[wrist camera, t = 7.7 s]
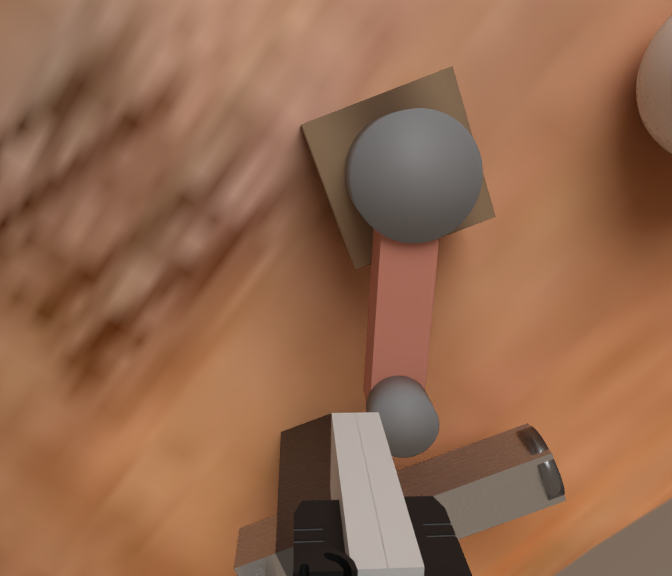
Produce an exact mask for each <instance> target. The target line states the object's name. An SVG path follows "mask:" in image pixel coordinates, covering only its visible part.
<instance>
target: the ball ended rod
mask: <svg viewBox="0 0 672 576" xmlns="http://www.w3.org/2000/svg"><path fill="white" fill-rule="evenodd" d="M482 176H483V169H482V160H481V156H480V152H479V149H478V147H477V145H476V143H475V141H474V139H473V137H472V136H471V134H470V133H469V131H468V130H467V129H466V128H465V127H464V126H463V125H462V124H461V123H460V122H458V121H457V120H456V119H454V118H453V117H451V116H449V115H447V114H445V113H443V112H440V111H437V110H433V109H426V108H413V109H407V110H402V111H397V112H393V113H389V114H386V115H383V116H381V117H379V118H377V119H375V120H374V121H372V122H370V123H369V124H368V125H367V126H366V127H364V128H363V130H362V131H361V132H360V133H359V134H358V135H357V137H356V138H355V140H354V141H353V143H352V145H351V147H350V149H349V152H348V154H347V158H346V163H345V183H346V188H347V192H348V194H349V197H350V199H351V201H352V203H353V204H354V206H355V208H356V209H357V210H358V211H359V213H360V214H361V215H362V216H363V218H364V219H365V220H366V221H367V222H368V224H369V225H370V226H372V227H373V244H372V261H371V277H370V293H369V309H368V325H367V341H366V357H365V374H364V394H365V398H366V410H367V412H379V415H380V418H381V422H382V425H383V429H384V432H385V435H386V439H387V442H388V445H389V449H390V452H391V456H394V457H401V458H406V457H412V456H416V455H418V454H420V453H422V452H424V451H425V450H427V449H428V448H429V447H430V446H431V445H432V444H433V442H434V441H435V439H436V437H437V435H438V431H439V419H438V416H437V413H436V411H435V409H434V407H433V405H432V403H431V401H430V399H429V397H428V395H427V394H426V392H425V385H426V375H427V364H428V353H429V343H430V332H431V321H432V311H433V300H434V290H435V279H436V268H437V258H438V247H439V238H441V237H443V236H445V235H447V234H448V233H450V232H452V231H453V230H454V229H456V228H457V227H458V226H459V225H460V224H461V223H462V222H463V221H464V220H465V219H466V218H467V216H468V215H469V214H470V212H471V211H472V209H473V207H474V206H475V204H476V201H477V199H478V197H479V193H480V190H481V185H482Z"/></svg>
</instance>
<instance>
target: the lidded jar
mask: <svg viewBox="0 0 672 576" xmlns="http://www.w3.org/2000/svg"><path fill="white" fill-rule="evenodd" d="M636 99H637V106H638V110H639V114H640V117H641V119H642V122H643V124H644V126H645V128H646V129H647V131H648V132H649V134H650V135H651V137H652V138H653V139H654V140H655V141H656V142H657V143H658V144H659V145H660V146H661V147H662V148H663V149H665V150H666V151H668V152H669V153H671V154H672V14H671V15H670V17H669V18H668V19H667V20H666V21H665V22H664V23H663V25H662V26H661V27H660V28H659V29H658V30H657V32H656V33H655V35H654V36H653V38H652V39H651V41H650V43H649V45H648V47H647V49H646V51H645V53H644V55H643V58H642V61H641V64H640V67H639V71H638V76H637V81H636Z"/></svg>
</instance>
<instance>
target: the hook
mask: <svg viewBox="0 0 672 576" xmlns="http://www.w3.org/2000/svg"><path fill="white" fill-rule="evenodd" d="M396 472H397V476H398V479H399V483H400V486H401V489H402V493H403V496H404V497H409V496H433V497H434V498H435V499H436V500H437V501H438V502H439V503H440V504H441V505H443V506H444V507H445V509H446V511H447V514H448V516H449V519H450V521H451V525H452V526H453V529H454V531H455V535H456V537H457V539H461V538H463V537H466V536H469V535H472V534H474V533H477V532H480V531H483V530H486V529H488V528H491V527H494V526H497V525H499V524H502V523H505V522H508V521H511V520H513V519H516V518H519V517H522V516H524V515H527V514H530V513H533V512H536V511H538V510H541V509H544V508H547V507H549V506H552V505H555V504H558V503H561V502H563V501H566V499H565V496H564V494H565V491H564V485H563V482H562V479H561V476H560V473H559V470H558V468H557V465H556V463H555V461H554V458H553V455H552V453H551V451H550V450H549V449H548V447H547V445H546V443H545V442H544V440H543V438H542V437H541V435H540V434H539V433H538V431H537V430H536V429H535V428H534V427H532V426H530V425H529V424H528V423H527V424H524V425H521V426H519V427H516V428H513V429H510V430H508V431H505V432H502V433H500V434H497V435H494V436H491V437H489V438H486V439H483V440H480V441H478V442H475V443H472V444H469V445H467V446H464V447H461V448H458V449H456V450H453V451H450V452H447V453H445V454H442V455H439V456H436V457H434V458H431V459H428V460H426V461H423V462H420V463H417V464H415V465H412V466H409V467H406V468H404V469H401V470H398V471H396ZM276 528H277V515H275V516H272V517H269V518H267V519H264V520H261V521H258V522H256V523H253V524H250V525H247V526H245V527H242V528H240V529H239V536H238V543H237V550H236V557H235V564H234V570H235V572H236V574H237V576H286V574H285V572H284V570H283V568H282V566H281V564H280V562H279V560H278V558H277V556H276V554H275V549H276Z"/></svg>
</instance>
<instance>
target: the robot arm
mask: <svg viewBox="0 0 672 576" xmlns="http://www.w3.org/2000/svg"><path fill="white" fill-rule="evenodd" d="M330 491H331V500H309V501H301V503H300V504H299V506H298V508H297V509H296V511H295V513H294V562H293V576H472V574H471V572H470V569H469V567H468V564H467V562H466V559H465V557H464V554H463V552H462V549H461V547H460V544H459V542H458V539H457V537H456V535H455V531H454V529H453V526H452V525H451V521H450V519H449V516H448V514H447V511H446V509H445V507H444V506H443V505H441V504H440V503H439V502H438V501H437V500H436V499H435V498H434V497H433V496H409V497H404V496H403V493H402V489H401V486H400V483H399V479H398V476H397V472H396V469H395V466H394V462H393V459H392V456H391V452H390V449H389V445H388V442H387V439H386V435H385V432H384V429H383V425H382V422H381V418H380V415H379V412H364V413H332V418H331V472H330Z"/></svg>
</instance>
